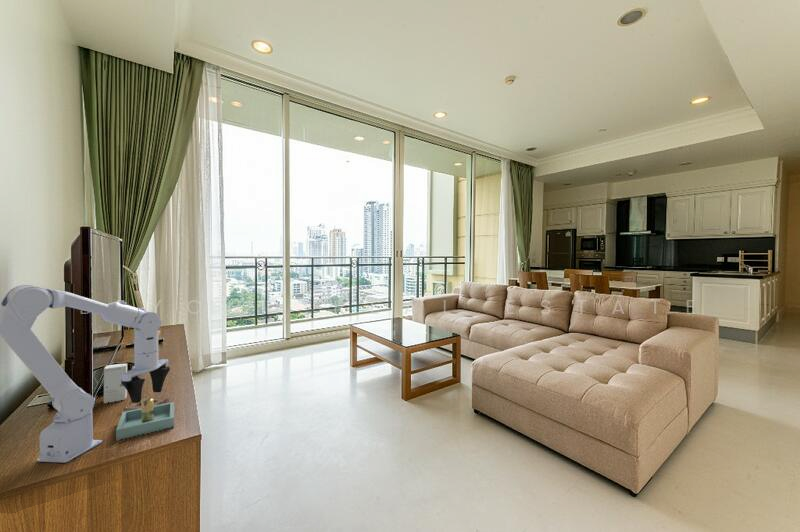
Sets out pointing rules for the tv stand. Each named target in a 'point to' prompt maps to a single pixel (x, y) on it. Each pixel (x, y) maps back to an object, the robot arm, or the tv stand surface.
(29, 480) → the tv stand surface
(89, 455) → the tv stand surface
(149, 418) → the pin
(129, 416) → the tray
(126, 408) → the collar
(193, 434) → the tv stand surface
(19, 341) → the robot arm
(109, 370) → the skincare box
